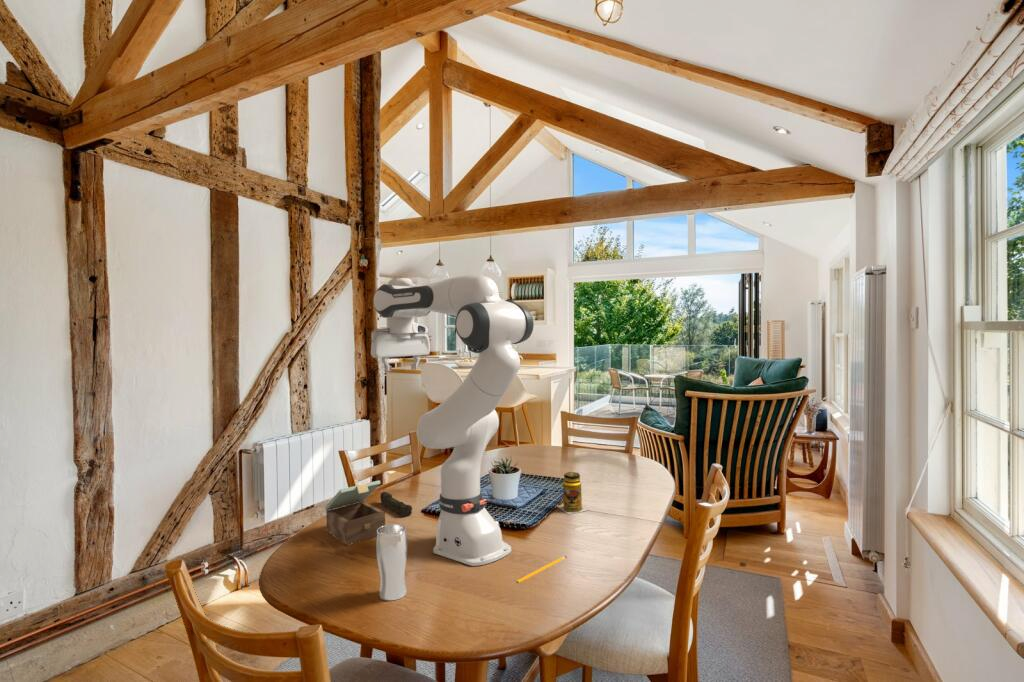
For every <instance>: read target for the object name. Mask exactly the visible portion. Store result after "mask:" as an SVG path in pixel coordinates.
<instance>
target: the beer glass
mask: <svg viewBox="0 0 1024 682" xmlns="http://www.w3.org/2000/svg"><path fill="white" fill-rule="evenodd" d="M407 534H408V533H407V527H406V525H404V524H401V523H389V524H385V525H384V526H381V527H380V528H378V529H377V537H375V539H376V543H375V545H376V546H375V547H376V548H375V550H376V551H375V552H376V560H377V565H378V566H377V567H378V571H379V575H380V587H379V595H378V596H379V597H380V599H381V600H383V601H387V602H388V601H390V602H392V601H397V600H400V599H402V598H403V597H404V596H406V595H407V586H406V581H405V574H406V573H405V572H406V565H407V560H408V559H407V558H408V535H407Z"/></svg>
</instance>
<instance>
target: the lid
mask: <svg viewBox="0 0 1024 682" xmlns="http://www.w3.org/2000/svg"><path fill="white" fill-rule="evenodd" d="M379 485H381V480H375V481H372V482H366V483H362V484H358V485H353V486H350V487H349V486H348V487H346V488H341V489H339V491H338V492H337V493H336V494H335V495H334V496H333V498H332V499H331V500H330V501H329V502H328V504H326V506H324V509H325V512H326V511H328V510H332V509H336V508H340V507H344V506H347V505H351V504H355V503H359V502H363V501H364V502H365V501H366V500H367V499H368V497H369V496H370V495H371V494H372V493H373V492H374V491H375V490H376V489H377V488H378V487H379Z"/></svg>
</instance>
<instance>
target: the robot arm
mask: <svg viewBox="0 0 1024 682" xmlns="http://www.w3.org/2000/svg"><path fill="white" fill-rule="evenodd" d="M499 293H500V292H499V288H498V286H497V284H496V282H495V281H494V280H493V279H492V278H490V277H489V276H486V275H485V276H484V275H479V274H478V275H477V274H468V275H460V276H455V277H450V278H447V279H443V280H439V281H436V282H432V283H427V284H423V285H417V284H415V283H413V280H412V279H410V278H407V277H395V278H391V279H390V280H389V281H388V282H387V284H386V283H383V284H381V285H380V286H379V287H378V288H377V289H376V291H375V292H374V294H373V297H372V305H373V308H374V310H375V311H376V312H377V313H378V315H379V316H380V317H382V318H385V319H386V328H384V327H383V328H375V329H374V330H372V332H371V335H370V338H371V344H370V345H371V346H370V355H371V357H372V358H374V359H375V358H376V359H379V358H380V359H381V362H382V363H383V365H384V367H385V368H384V371H385V372H393V365H390V364H389V361H390V358H396V357H398V358H400V357H413V359H414V360H413V363H411V364H410V370H413V371H415V370H418V364H419V363H420V360H421V356H428V355H429V354H430V352H431V345H430V337H429V335H428V333H429V329H428V327H427V326H425V325H422V324H420V323H417V322H415V318H422V317H426V316H427V315H429V314H430V312H433V313H440V314H444V315H445V314H446V315H450V316H455V321H454V323H455V324H454V327H455V331H456V333H457V336H458V337H459V339H460V340H461V341H462V343H463V344H464V345H465V346H466V347H467V349H468V351H469V352H472V353H473V354H478V358H477V359H476V362H475V363H473V364H474V365H473V366H472V367H471V369H470V370H469V372H468V374H467V376H466V377H465V378H464V380H463V381H462V383H461V385H460V386H459V387H458V388H457V389H456V390H455V391H454V392H453V393H452V394H450V396H448V397H447V398H446V399H445V400H443V401H442V402H441V403H440V404H438V405H437V406H435V407H434V408H433V409H431V410H429V411H427V412H424V413H423V414H421V416H420V417H419V419H418V421H417V425H416V436H417V439H418V440H419V442H420V443H421V445H422V446H424V447H425V448H426V449H432V450H433V449H434V450H435V449H436V450H445V449H449V448H453V450H452V452H451V454H450V456H448V458H447V459H446V460H445V461H444V462H443V463H442V465H441V468H440V494H439V500H438V501H439V502H438V503H439V508H440V513H439V517H438V519H437V524H436V525H437V526H436V538H435V539H436V541H435V544H434V545H435V546H433V548H432V549H433V550H432V553H433V554H436V555H439V556H441V557H444V558H447V559H450V560H453V561H455V562H460V563H462V564H465V565H468V566H472V567H477V566H483V565H486V564H490V563H493V562H495V561H499V560H500V559H503V558H504V557H506V556H508V555H509V554H510V553H511V552H512V546H511V545H509V544H508V543H507V542H505V541H504V540H503V535H502V534H503V533H502V529H501V527H500V524H499V521H498V520H495V519H494V518H493V517H492V515H491V514H490V512H489V511H488V510H487V509H486V504H487V503H488V502H487V499H486V498H484V496H483V493H482V492H481V467H482V460H483V458H484V454H485V451H486V448H487V446H488V444H489V443H490V441H491V440H492V438H493V437H494V436H495V435H496V433H497V431H498V429H499V427H500V418H499V415H498V413H497V411H496V408H497V406H498V405H499V404H500V403H501V401H502V399H503V398H504V397H505V395H506V394H507V392H508V391H509V389H510V387H511V386H512V384H513V383H514V381H515V379H516V377H517V374H518V373H519V369H520V366H521V357H520V356H519V355H520V354H519V353H518V352H517V350H515V349H514V347H512V346H513V345H517V344H521V343H524V342H525V341H527V340H529V338H530V337H532V336H531V335H532V334H533V330H534V317H533V315H532V313H531V312H530V311H529V309H527V308H526V307H525V306H523V305H521V304H518V303H516V302H515V301H514V300H512V299H511V298H507V299H506V300H504V299H502V298H501V296H500V294H499Z"/></svg>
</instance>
